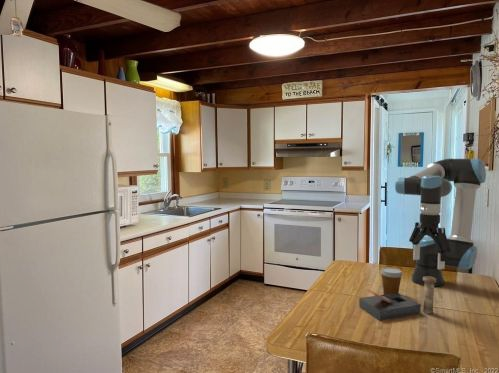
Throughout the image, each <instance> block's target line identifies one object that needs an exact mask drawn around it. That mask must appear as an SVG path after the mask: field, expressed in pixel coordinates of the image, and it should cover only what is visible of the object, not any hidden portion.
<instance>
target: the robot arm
mask: <svg viewBox="0 0 499 373" xmlns="http://www.w3.org/2000/svg"><path fill="white" fill-rule="evenodd" d="M486 172H487V171H486V166H485V162H484V161H483V160H482V159H479V158H444V159H441V160H440V159H439V160H437V161H434V162H432V163H430V164H428V165H427V166H426V167H425V169H422V170H420V171H418V172H417V173H414V174H413V175H410V176H409V177H404V176H403V177H398V178H397V179H396V180H395V183H394V190H395V192H396V193H397V194H400V195H404V196H405V195H410V196H420V204H419V205H420V206H419V211H420V214H419V221H416V222H415V223H414V228H413V230H412V233H411V235H410V237H409V241H408V242H411V243H412V254H413V255H412V260H413V261H415V267H414V270H413V273H412V275H411V281H412V282H414V283H415V284H418V285H421V286H424V283H425V282H424V281H423V277H424V276H430V277H434V278H436V283H434V288H435V287H441V286H444V285H445V278H444V275H443V272H442V270H445V266H446V267H449V268H450V267H452V268H456V269H458V270H459V269H462V270H470V269H471V268H472V267H474V265H475V262H476V259H477V256H478V247H477V246H475V245H474V244H475V243H474V241H473V240H472V228H473V219H474V213H475V203H476V195H477V194H476V193H477V190H478V189H480V188H481V185H482V184H483V183H485V182H486V179H487V178H486V177H487V173H486ZM451 182H453V186H452V183H451ZM453 187H455V197H454V204H453V205H454V206H453V212H452V220H451V221H452V222H451V229H450V235H449V236H448V237H447V235H446V228H445V227H439V224H440V223H441V211H442V210H441V205H442V198H444V197H446V196H448V195H449V194H451V192H452V190H453Z"/></svg>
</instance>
